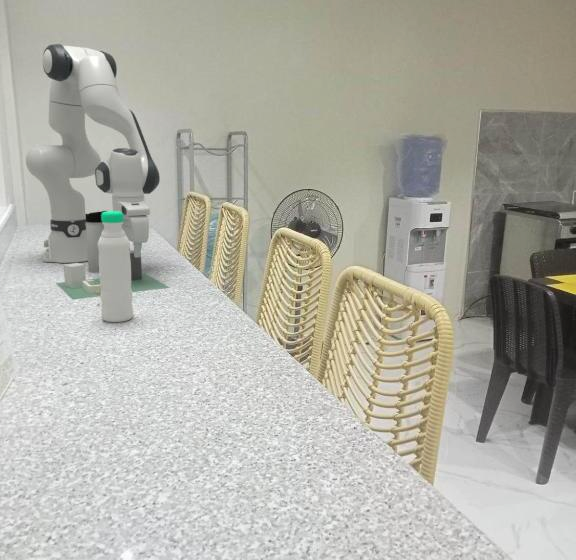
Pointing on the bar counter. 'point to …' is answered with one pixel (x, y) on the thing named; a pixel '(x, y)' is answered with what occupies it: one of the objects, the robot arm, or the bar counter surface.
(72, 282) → the plug
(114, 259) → the water bottle
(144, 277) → the board
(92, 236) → the travel mug
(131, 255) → the plug
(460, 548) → the bar counter surface
